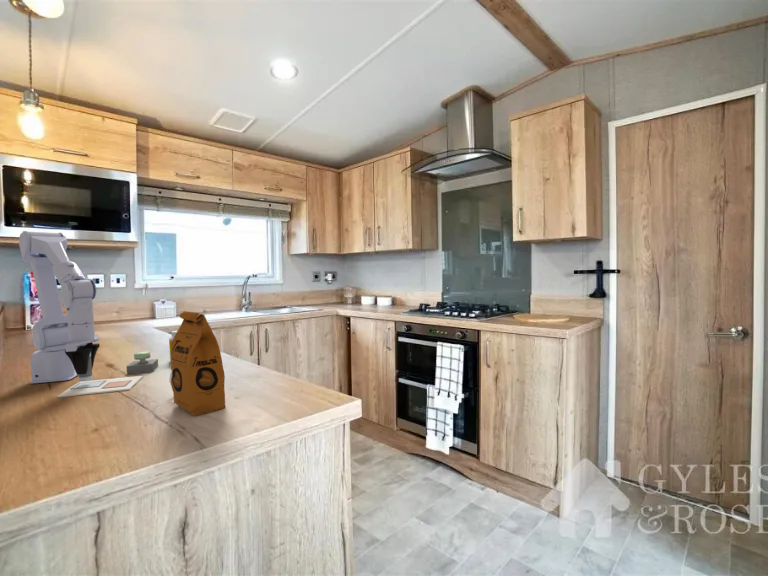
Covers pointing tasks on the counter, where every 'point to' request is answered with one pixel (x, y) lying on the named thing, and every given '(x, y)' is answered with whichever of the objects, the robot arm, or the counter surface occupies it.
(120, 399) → the counter surface
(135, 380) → the white sorting board
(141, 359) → the button
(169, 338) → the supplement bottle
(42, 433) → the counter surface
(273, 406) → the counter surface
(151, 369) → the button housing
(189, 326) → the coffee package
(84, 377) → the grey cylinder
